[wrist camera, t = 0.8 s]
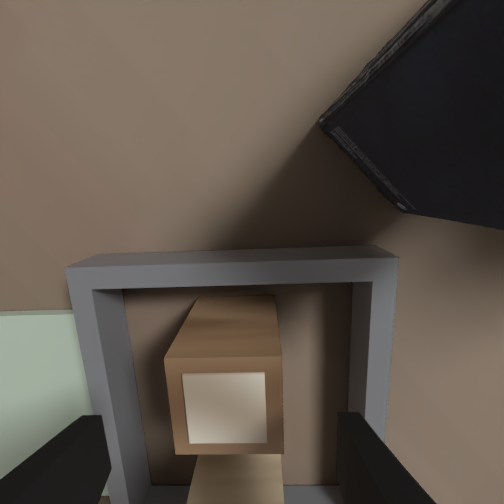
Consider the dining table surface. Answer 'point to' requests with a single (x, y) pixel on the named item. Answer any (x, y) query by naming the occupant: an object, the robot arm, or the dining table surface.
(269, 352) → the walnut block
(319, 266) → the parts bin
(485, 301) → the dining table surface
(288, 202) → the dining table surface
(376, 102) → the small box
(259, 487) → the maple block
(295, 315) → the dining table surface
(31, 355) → the pad
